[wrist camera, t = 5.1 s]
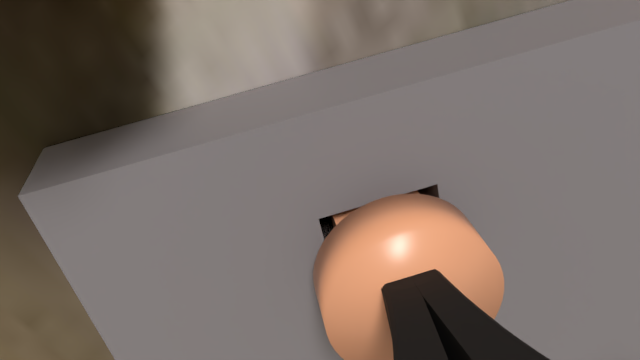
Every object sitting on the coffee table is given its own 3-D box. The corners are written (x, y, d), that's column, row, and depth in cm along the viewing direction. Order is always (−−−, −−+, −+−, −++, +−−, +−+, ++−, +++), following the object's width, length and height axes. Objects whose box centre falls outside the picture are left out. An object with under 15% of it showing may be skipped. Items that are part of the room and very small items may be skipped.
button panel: (614, -13, 16) (678, 8, 14) (594, 401, 25) (631, 452, 23) (43, 147, 15) (17, 195, 13) (240, 513, 24) (244, 577, 22)
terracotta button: (434, 131, 16) (499, 207, 13) (450, 252, 18) (508, 344, 15) (282, 175, 16) (305, 263, 12) (317, 292, 18) (345, 395, 15)
